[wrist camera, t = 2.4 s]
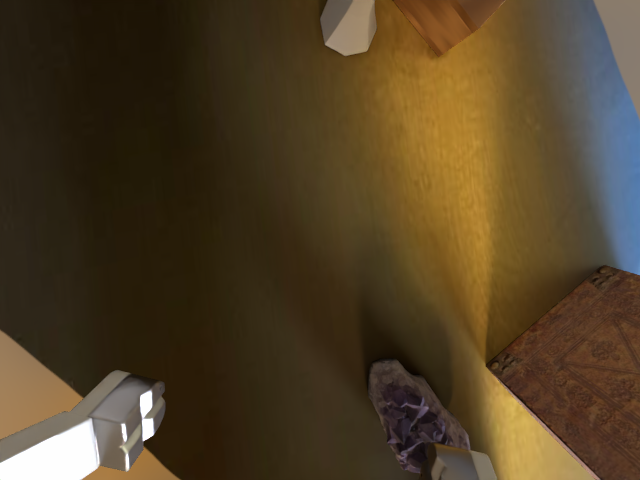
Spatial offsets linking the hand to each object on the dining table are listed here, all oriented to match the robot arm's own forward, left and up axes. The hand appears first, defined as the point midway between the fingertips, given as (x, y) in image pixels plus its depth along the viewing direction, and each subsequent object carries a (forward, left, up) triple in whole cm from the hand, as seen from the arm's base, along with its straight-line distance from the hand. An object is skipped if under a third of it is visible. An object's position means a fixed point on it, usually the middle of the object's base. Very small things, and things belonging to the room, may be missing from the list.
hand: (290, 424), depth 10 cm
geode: (+35, -9, -37) cm, 51 cm away
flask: (-11, +24, -37) cm, 45 cm away
